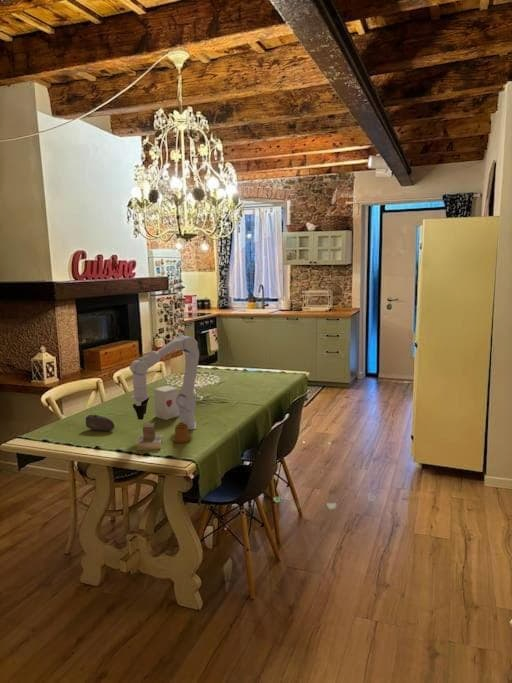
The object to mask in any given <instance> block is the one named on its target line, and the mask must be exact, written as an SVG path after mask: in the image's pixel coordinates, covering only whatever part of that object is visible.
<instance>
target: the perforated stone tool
mask: <svg viewBox="0 0 512 683" xmlns="http://www.w3.org/2000/svg"><path fill="white" fill-rule="evenodd" d="M85 426H86V428H87V429H90V430H94V431H100V432H101V431H103V432H109V431H113V430H114V429H115V424H114V421H112V419H110V418H108V417H106V416H103V415H96V414H89V415H87V416H86V417H85Z"/></svg>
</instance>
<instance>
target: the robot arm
mask: <svg viewBox="0 0 512 683" xmlns="http://www.w3.org/2000/svg"><path fill="white" fill-rule="evenodd" d="M198 343H199V342H198V341H197V339H195V338H194V337H192V336H186V335H183V334H179V335H178V336H175V337H173V339H172V340H171V341H169V342H168V343H166V344H165V345H163V346H162V347H161V348H159V349H158V350H149V351H148V352H147V354H145V355H143V356H141V357H139V358H138V359H134V360H133V361H131V363H130V366H129V370H130V371H131V372H132V386H133V396H131V400H134V401H135V403H133V404H132V407H133V409H134V411H135V413H136V416H137V420H139V421H140V420H141V421H143V420H144V416H145V415H146V413H147V409H148V408H147V405H148V401H149V400H150V397H149V395H148V387H147V375H146V374H147V372H148V371H149V369H150V368H152V367H153V366H155V365H156V364H158V363H160V361H161V358H163V357H165V356H166V355H168V354H170V353H172V352H173V351H175V350H181V351H183V352H184V354H185V355H186V362H185V369H184V376H183V379H182V381H183V382H182V386H181V389H180V390H178V396H177V398H176V404H177V405H178V406H179V416H178V417H179V418H178V420H179V423H181V422H183V423H185V424H186V425H188V431H190V430H196V427H197V422H196V421H195V408H196V406H197V399H196V398H197V395H196V392H195V391H194V390H195V384H196V378H197V373H198V366H199V358H200V351H199V347H198Z"/></svg>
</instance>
